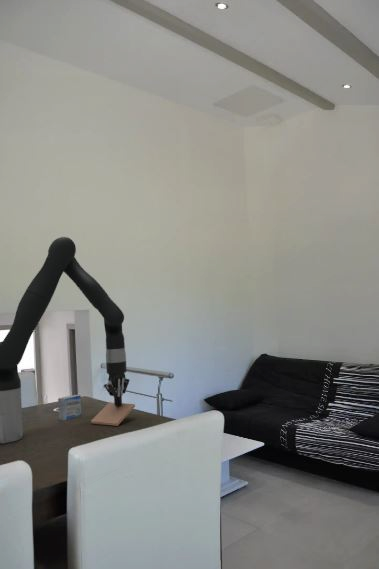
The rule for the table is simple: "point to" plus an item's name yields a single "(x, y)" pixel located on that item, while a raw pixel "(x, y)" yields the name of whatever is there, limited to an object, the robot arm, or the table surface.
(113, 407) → the terracotta tile
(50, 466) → the table surface
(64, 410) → the medicine box
